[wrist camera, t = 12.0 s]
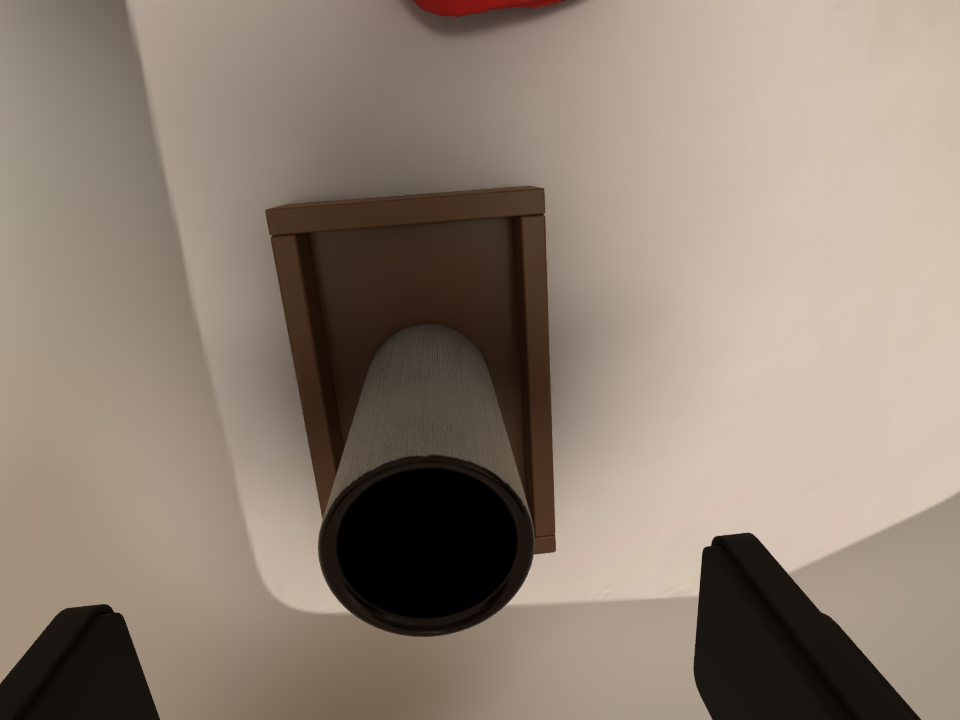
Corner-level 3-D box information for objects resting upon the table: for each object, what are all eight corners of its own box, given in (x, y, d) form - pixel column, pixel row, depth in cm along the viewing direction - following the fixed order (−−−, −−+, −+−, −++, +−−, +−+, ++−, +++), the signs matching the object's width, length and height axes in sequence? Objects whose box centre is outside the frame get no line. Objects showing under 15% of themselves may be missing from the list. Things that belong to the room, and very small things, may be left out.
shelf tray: (284, 204, 20) (264, 209, 17) (530, 185, 20) (544, 187, 18) (342, 536, 24) (333, 578, 22) (543, 514, 25) (556, 552, 22)
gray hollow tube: (351, 412, 22) (288, 610, 12) (392, 303, 21) (359, 425, 11) (461, 449, 23) (486, 661, 13) (507, 347, 21) (571, 496, 12)
